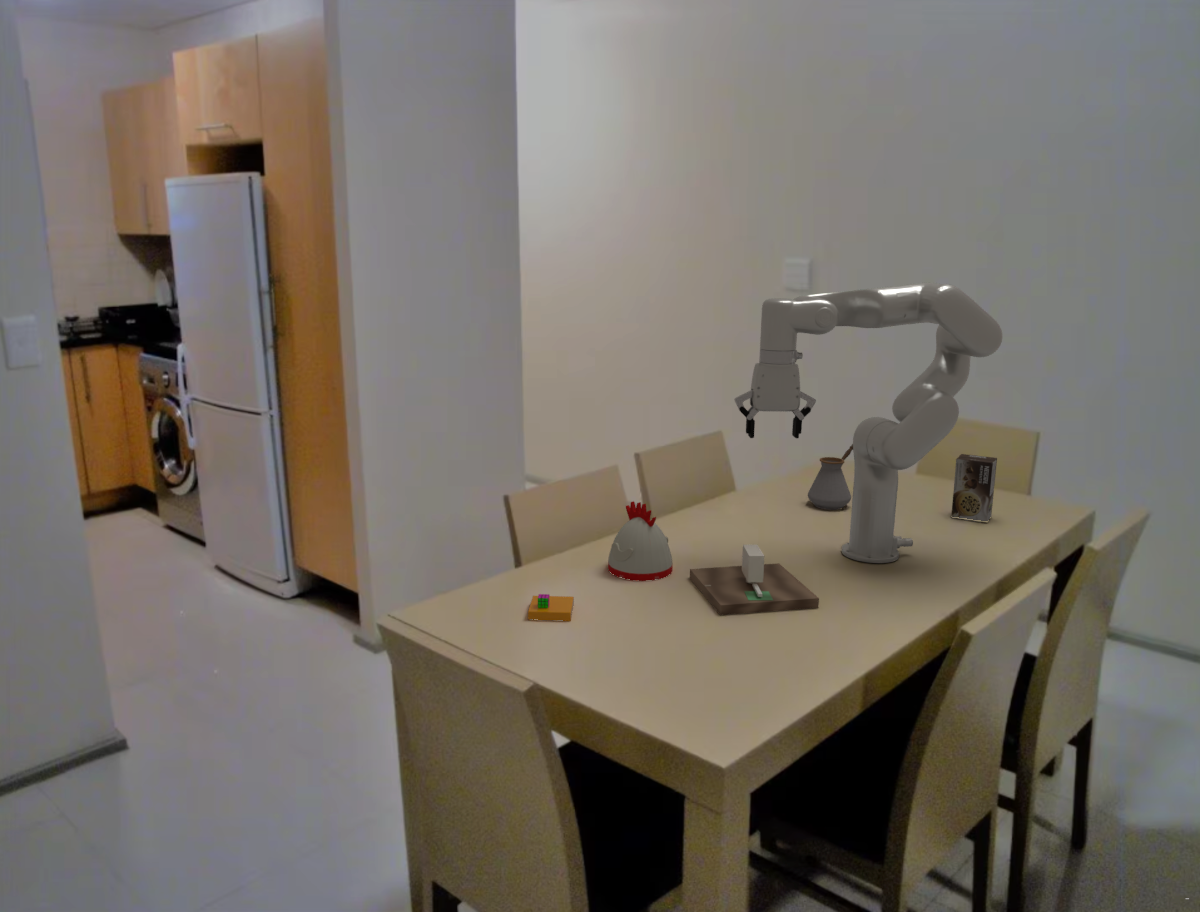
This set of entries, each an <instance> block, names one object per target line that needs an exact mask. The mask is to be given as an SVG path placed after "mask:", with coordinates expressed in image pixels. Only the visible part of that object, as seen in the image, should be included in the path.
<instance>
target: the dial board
mask: <svg viewBox="0 0 1200 912" xmlns="http://www.w3.org/2000/svg"><path fill="white" fill-rule="evenodd" d="M689 579H690V581H691V582H693V583H692V584H694V586H696V587H697V589H698V591H700V593H701V594H702V595H703V596H704V597H705V599H706V600H708V603H710V605H712V607H713V608H714V609H715V610H716V612H717V613H718V614H719V615H720V616H725V615H737V614H738V615H741V614H742V615H743V614H749V613H750V614H753V613H767V612H779V611H790V610H791V611H792V610H794V611H795V610H808V609H819V603H820V597H818V596H817V595H816V594H815V593H814V592H813V591H811V590H810V589H809V588H808V587H807V586H806V585H804V584H803V583H802V582H801V580H799V579H798V578H797V577H796V576H794V575H793V574H792V573H791V572H790V571H789V570H788V569H786V568H785V567H784V566H783V565H782V564H781V563H764V573H763V582H758V583H757V585H758V587H759V588H760V590H761V592H762V597H758V596H757V594H756V592H755V590H754V588H753V586H752V584H750V583H747V582H746V577H745V576H744V574H743V572H742V565H734V566H733V565H732V566H717V567H715V566H714V567H703V568H702V567H701V568H689Z"/></svg>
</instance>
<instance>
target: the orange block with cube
mask: <svg viewBox="0 0 1200 912" xmlns="http://www.w3.org/2000/svg"><path fill="white" fill-rule="evenodd" d="M574 598H575V597H574V596H562V595H561V596H560V595H558V596H557V595H555V596H554V595H550V594H549V593H545V594H544V593H542V594H541V593H539V594H538V595H532V598H531V600H530V601H531V602H530V604H529V608H528V612H527V620H528V619H533V620H532V621H535V620H534V619H538V620H563V621H562V622H572V616H573V612H572V611H574V607H573V606H575V605H574V602H575V601H574V600H575V599H574Z"/></svg>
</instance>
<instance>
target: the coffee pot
mask: <svg viewBox="0 0 1200 912" xmlns="http://www.w3.org/2000/svg"><path fill="white" fill-rule="evenodd" d="M852 452H853V443H852V444H851V445H850V446H849V448H848V449H847V450H845V452H844V454H843V455H842V457H841V458H840V457H833V456H826V457H825V456H824V457H820V458H819V462H820V464H821V467H820V469H819V471H818V473H817V474H816V477H815V479H814V480H813V482H812V484H811V486H810V488H809V490H808V491H807V498H808V500H809V501H810V502H811V503H812V504H813V506H815V507H816V508H819V509H822V510H830V511H836V510H842V509H843V508H844V507H845V506H847V505H848V504H849V503H850V501H852V494H851V492H850V489H849V486H848V484H847V481H846V478H845V475H844V471H843V469H842V466H843V465H844V464H845V460H846V459H847V458H848V457H849V456H850V455H851V453H852ZM841 508H842V509H841Z"/></svg>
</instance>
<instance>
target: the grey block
mask: <svg viewBox="0 0 1200 912" xmlns="http://www.w3.org/2000/svg"><path fill="white" fill-rule="evenodd" d="M764 564H765V555H764V553H763V551H762V550H761V548H760V547H759V545H758V544H742V555H741V566H742V572H743V574H744V576H745V577H746V582H747V583H750V584H752V586H753V588H754V590H755V592H756V594H757V596H758V597H762V592H761V590H760V588H759V587H758V585H757V583H758V582H763V573H764Z"/></svg>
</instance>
